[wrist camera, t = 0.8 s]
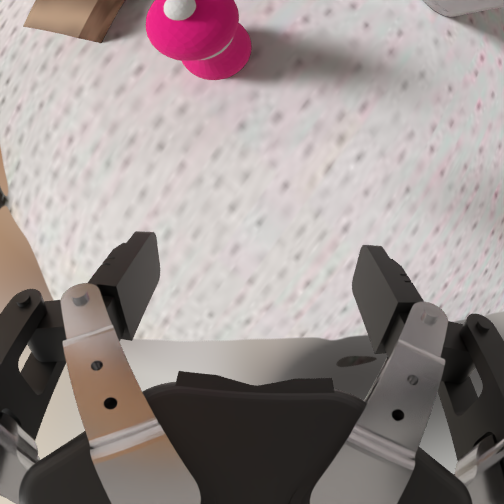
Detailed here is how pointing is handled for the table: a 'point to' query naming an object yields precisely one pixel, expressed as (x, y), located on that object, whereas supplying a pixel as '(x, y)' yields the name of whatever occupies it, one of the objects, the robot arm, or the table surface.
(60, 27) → the walnut box
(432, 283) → the table surface
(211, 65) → the pepper mill
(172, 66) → the table surface
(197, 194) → the table surface
